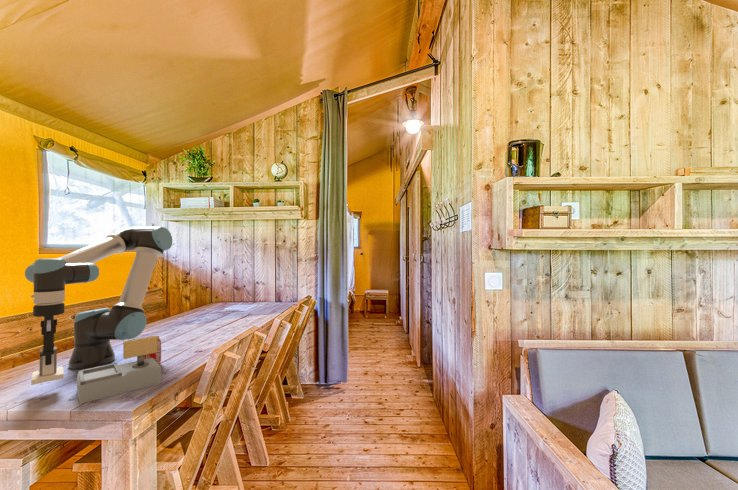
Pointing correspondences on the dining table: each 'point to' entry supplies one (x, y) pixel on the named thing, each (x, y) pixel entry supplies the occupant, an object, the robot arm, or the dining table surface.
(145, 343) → the tan sign on stand
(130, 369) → the case
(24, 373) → the dining table surface
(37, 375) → the cover
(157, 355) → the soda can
